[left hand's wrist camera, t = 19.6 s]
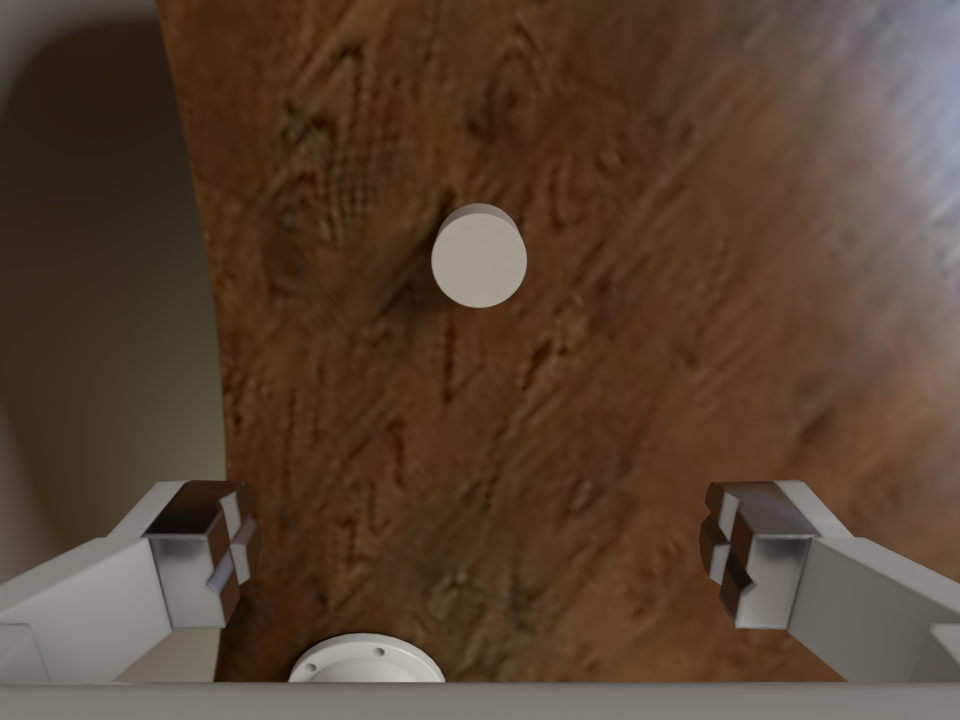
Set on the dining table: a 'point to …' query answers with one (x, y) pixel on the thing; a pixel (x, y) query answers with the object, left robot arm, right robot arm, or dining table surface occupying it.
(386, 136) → the dining table surface
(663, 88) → the dining table surface
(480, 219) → the canister
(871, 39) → the dining table surface
